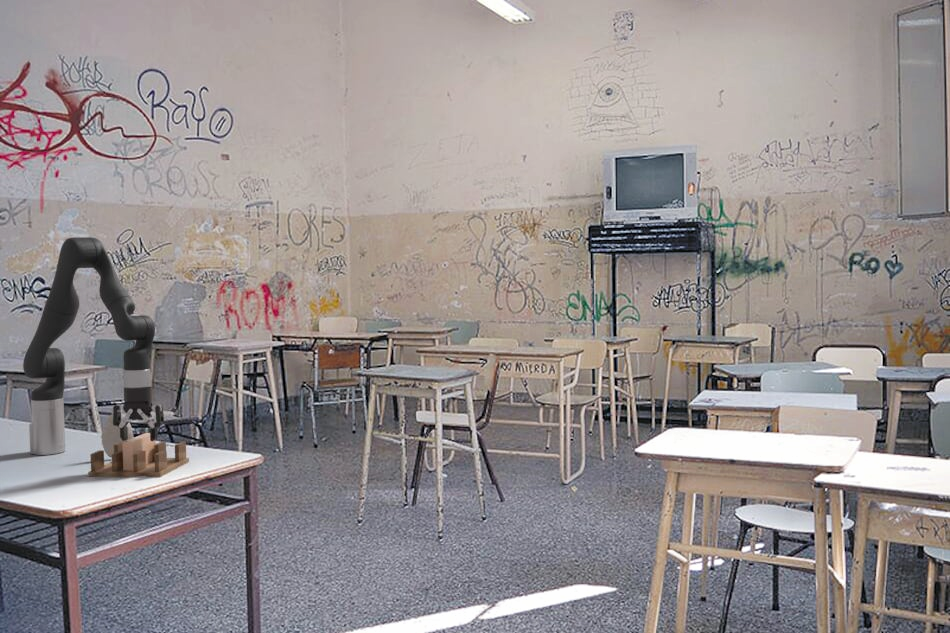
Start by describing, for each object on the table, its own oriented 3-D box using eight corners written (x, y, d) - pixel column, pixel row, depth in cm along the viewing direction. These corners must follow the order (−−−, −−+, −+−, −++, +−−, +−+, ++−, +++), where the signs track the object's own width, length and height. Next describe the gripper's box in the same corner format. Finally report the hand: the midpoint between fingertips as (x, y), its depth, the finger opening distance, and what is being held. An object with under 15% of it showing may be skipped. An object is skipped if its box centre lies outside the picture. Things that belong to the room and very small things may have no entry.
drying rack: (88, 476, 242) (87, 454, 241) (121, 461, 260) (121, 441, 260) (160, 476, 240) (159, 454, 239) (189, 461, 259) (188, 441, 258)
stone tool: (103, 461, 261) (101, 412, 261) (101, 459, 264) (99, 410, 263) (135, 457, 266) (133, 409, 266) (132, 455, 269) (131, 407, 268)
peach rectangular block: (123, 470, 243) (122, 442, 243) (146, 459, 257) (145, 432, 257) (133, 470, 243) (132, 442, 242) (156, 459, 257) (155, 432, 256)
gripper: (107, 386, 246) (108, 442, 247) (155, 386, 244) (157, 443, 245) (120, 383, 253) (121, 437, 254) (167, 383, 252) (168, 438, 253)
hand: (139, 440), depth 250 cm, fingers open, 8 cm apart
